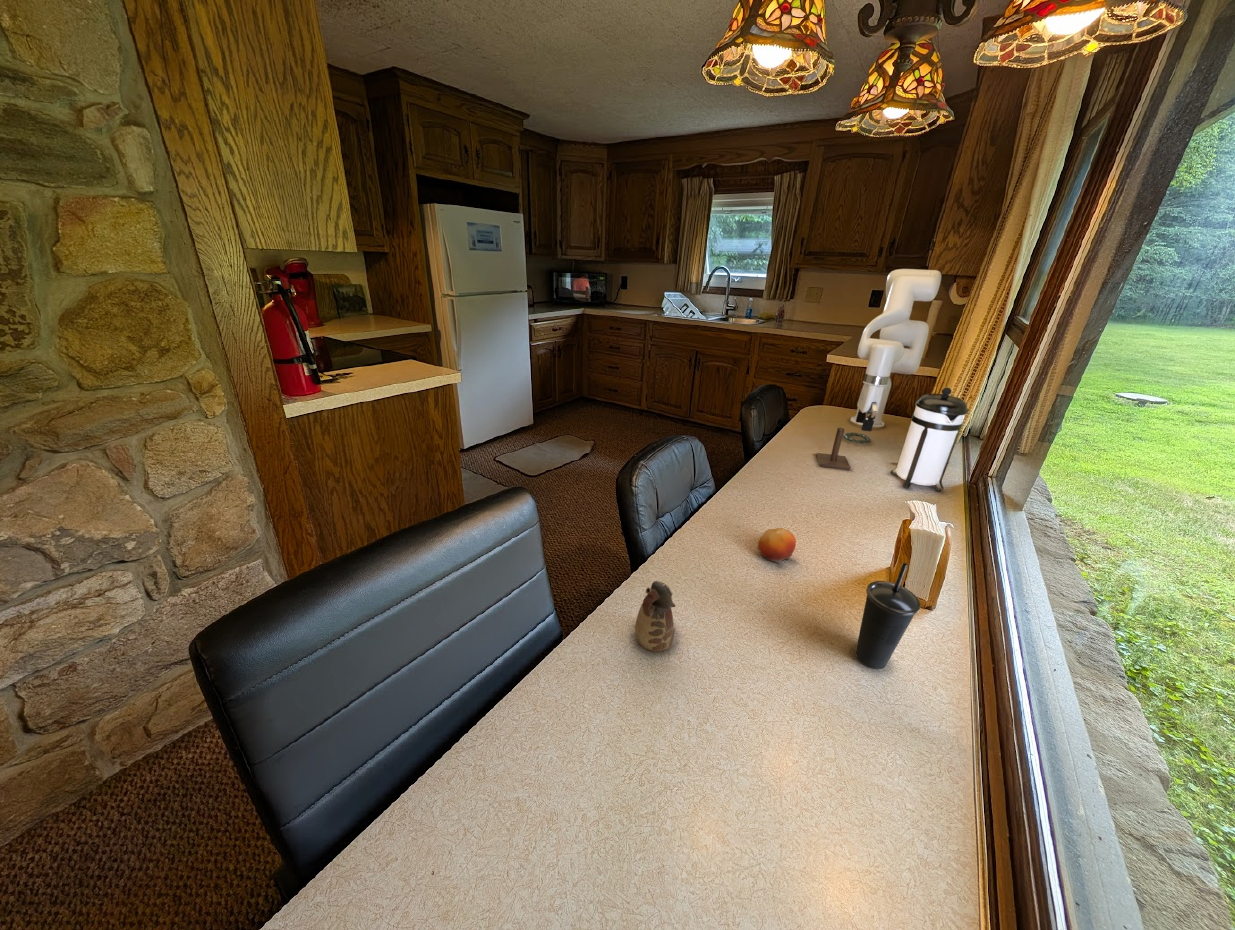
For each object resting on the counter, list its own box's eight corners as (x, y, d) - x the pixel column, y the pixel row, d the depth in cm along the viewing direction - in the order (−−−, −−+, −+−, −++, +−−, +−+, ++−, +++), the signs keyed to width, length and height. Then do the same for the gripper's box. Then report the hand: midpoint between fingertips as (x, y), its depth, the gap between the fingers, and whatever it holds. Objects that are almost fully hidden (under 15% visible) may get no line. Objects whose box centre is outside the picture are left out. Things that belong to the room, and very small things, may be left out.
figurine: (682, 642, 81) (688, 589, 76) (648, 658, 78) (653, 603, 73) (659, 617, 87) (664, 565, 82) (627, 630, 84) (630, 577, 79)
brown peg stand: (816, 455, 159) (824, 422, 153) (844, 459, 157) (853, 425, 151) (819, 466, 151) (828, 431, 145) (849, 470, 149) (858, 435, 143)
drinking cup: (901, 658, 80) (939, 565, 71) (886, 684, 75) (925, 587, 66) (856, 634, 84) (886, 543, 76) (839, 656, 80) (870, 563, 71)
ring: (841, 434, 178) (842, 430, 177) (866, 437, 176) (868, 433, 175) (845, 443, 170) (846, 439, 169) (872, 446, 168) (873, 442, 167)
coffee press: (954, 485, 141) (991, 390, 128) (928, 498, 133) (964, 398, 120) (898, 464, 154) (926, 376, 141) (871, 474, 146) (898, 382, 133)
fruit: (785, 569, 99) (775, 533, 99) (757, 568, 105) (748, 534, 106) (808, 557, 103) (799, 523, 103) (780, 557, 110) (771, 524, 110)
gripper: (859, 373, 167) (847, 418, 174) (870, 384, 152) (856, 432, 159) (881, 375, 166) (868, 420, 173) (894, 386, 150) (880, 435, 157)
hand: (863, 426), depth 166 cm, fingers open, 9 cm apart
